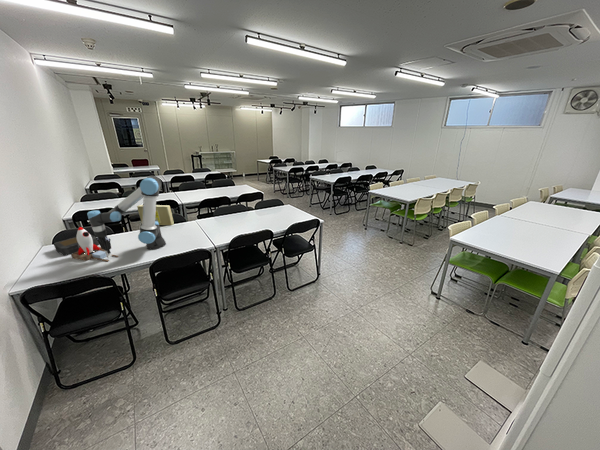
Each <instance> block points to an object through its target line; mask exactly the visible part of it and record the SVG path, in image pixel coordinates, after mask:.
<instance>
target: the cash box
mask: <svg viewBox="0 0 600 450" xmlns="http://www.w3.org/2000/svg"><path fill="white" fill-rule="evenodd" d="M89 234H90V233H89ZM90 235H91V237H92V240H93V244H95V245H97V246H100V245H99V243H98V241H97V240H96V238H97V236H95V235H92V234H90ZM53 246H54V248H55V250H56V251H57V252H58V253H59V254H60V255H62V256H63V257H67V256H71V254H73V253H75V252H78V250H79V248H80V245H79V243H78V241H77V236H73V237H70V238H67V239H64V240H63V239H62V240H60V241H57V242H56V241H55V242H54V243H53Z"/></svg>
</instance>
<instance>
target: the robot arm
mask: <svg viewBox="0 0 600 450" xmlns="http://www.w3.org/2000/svg"><path fill="white" fill-rule="evenodd" d="M161 187H162V180H161V179H160V178H159V177H158V176H155V175H149V176H147V177H145V178H143V179H142V180H141V181H140V183H139V187H137V189H135V190H134V191H133V192H132V193H130V194H129V195H128V196H126V197H125V198H124V199H122V201H120V202H119V203H118V204H117V205H115V206H114V207H113V208H112V209H111V210H109V211H108V212H101V211H100V210H99V209H98V210H95V209H94V210H91V211H88V212H87V213H86V214H87V218H88V220H89V223H90V226H91V229H92V231H93V234H94V236H95V237H97V238H96V240H97V241H98V243H99V245H98V246H99V247H101V248H102V249H104V250H105V253H106V255H107V257H106V258H111V257H113V256H112V255H113V254H112V252H111V249H112V245H111V238H108V236H107V234H108V232H107V229H106V225H105V223H115V222H119V221H122V215H123V214H124V213H126V212H128V210H129V209H131V208H132V207H133V206H135V204H137V203H139V201H141V200H142V199H143V200H142V201H143V202H142V203H143V204H142V205H143V223H142V222H141V225H140V226H139V234H138V235H137V238H138V241H140V242H141V243H143V244H144V245H145V244H146V245H145V247H146V248H147V249H148V250H157V249H161V248H163V247H165V246H166V245H167V243H166V240H165V238H164V237H163V235H162V232H161V227H160V225H159V223H158V222H157V221H155V214H156V205H157V198H158V197H159V196H160V195H159V194H160V188H161ZM111 254H112V255H111Z"/></svg>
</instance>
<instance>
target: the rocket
mask: <svg viewBox="0 0 600 450" xmlns="http://www.w3.org/2000/svg"><path fill="white" fill-rule="evenodd" d="M91 235H92V234H91ZM91 235H90V232H88V231H87V230H86V229H84V228H83V227H81V226H79V227H78V229H77V232H76V237H77V241H78V243H79V245H80V248H79V250H78V255H80V254H81V253H82V252H84V251H85V252H86V253H87V255H90V254H93V253H94V252H93V250H95V251H96V250H100V248H99V247H100V246H99V245H95V244H93V240H92V237H91Z"/></svg>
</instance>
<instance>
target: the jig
mask: <svg viewBox="0 0 600 450" xmlns="http://www.w3.org/2000/svg"><path fill="white" fill-rule="evenodd" d="M98 247H99V248H100V250H98V251H105V250H104V249H102V248H101V246H98ZM95 251H96V250H95ZM96 252H97V251H96ZM84 253H85V254H84ZM94 253H95V252H94ZM111 255H112V256H111V257H113V256H115V258H119V255H117V254H112V253H111ZM70 257H71V258H72V259H74V260H81V261H84V262H87V261H91V260H92V259H93V260H96V259H97V261H101V260H102V261H101V262H107V263H109V262H110V260H109V259H105V258H103V259H100V258H95V257H93V256H92V254H90V255H87V253H86V252H85V251H84V252H82V253H81V254H80V255H78V252H75V253H73V254H70ZM108 261H109V262H108Z"/></svg>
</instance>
